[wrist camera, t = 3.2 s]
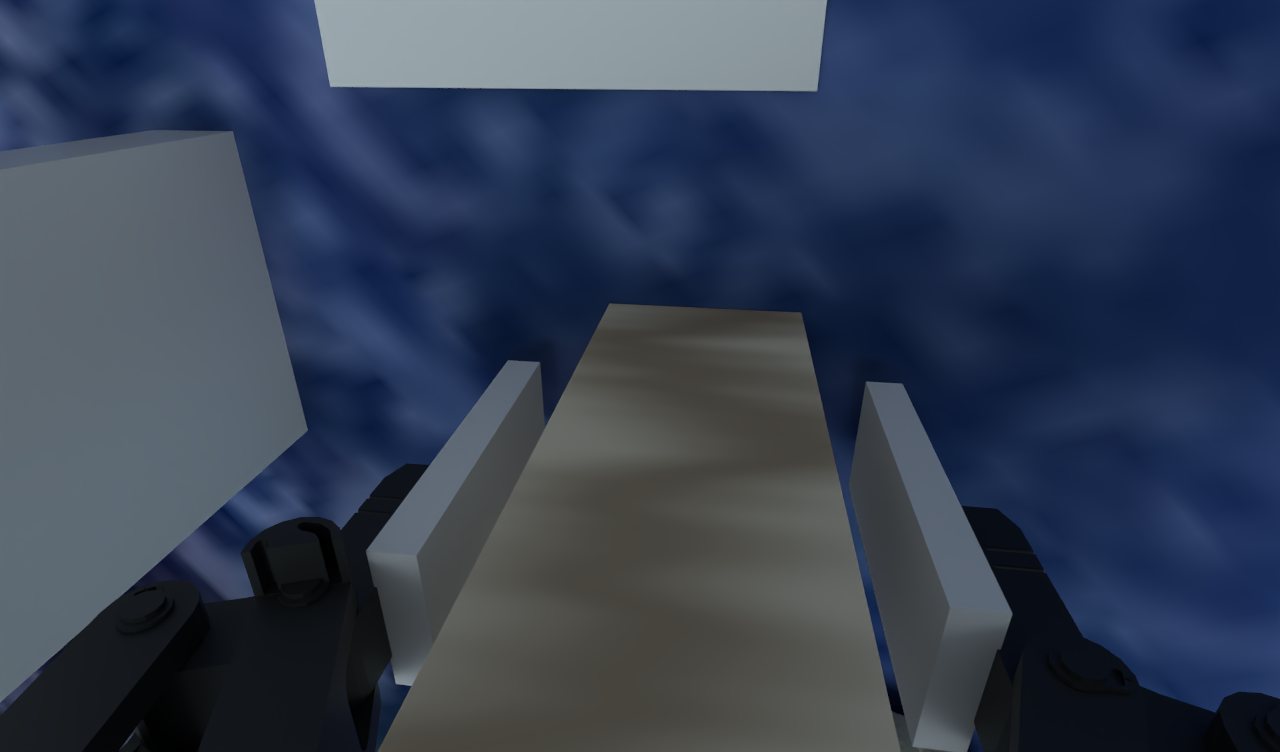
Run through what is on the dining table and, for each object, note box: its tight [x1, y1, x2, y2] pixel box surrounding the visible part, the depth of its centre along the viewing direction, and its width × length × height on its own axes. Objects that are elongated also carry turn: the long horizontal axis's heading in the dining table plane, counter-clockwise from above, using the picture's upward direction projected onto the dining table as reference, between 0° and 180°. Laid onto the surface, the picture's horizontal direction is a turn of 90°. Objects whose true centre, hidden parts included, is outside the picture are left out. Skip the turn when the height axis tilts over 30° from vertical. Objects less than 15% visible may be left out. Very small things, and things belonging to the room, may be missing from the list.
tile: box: [0, 130, 308, 702], centre depth 13 cm, size 2×8×9 cm, turn 0°
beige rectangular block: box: [378, 303, 901, 752], centre depth 11 cm, size 4×4×13 cm
